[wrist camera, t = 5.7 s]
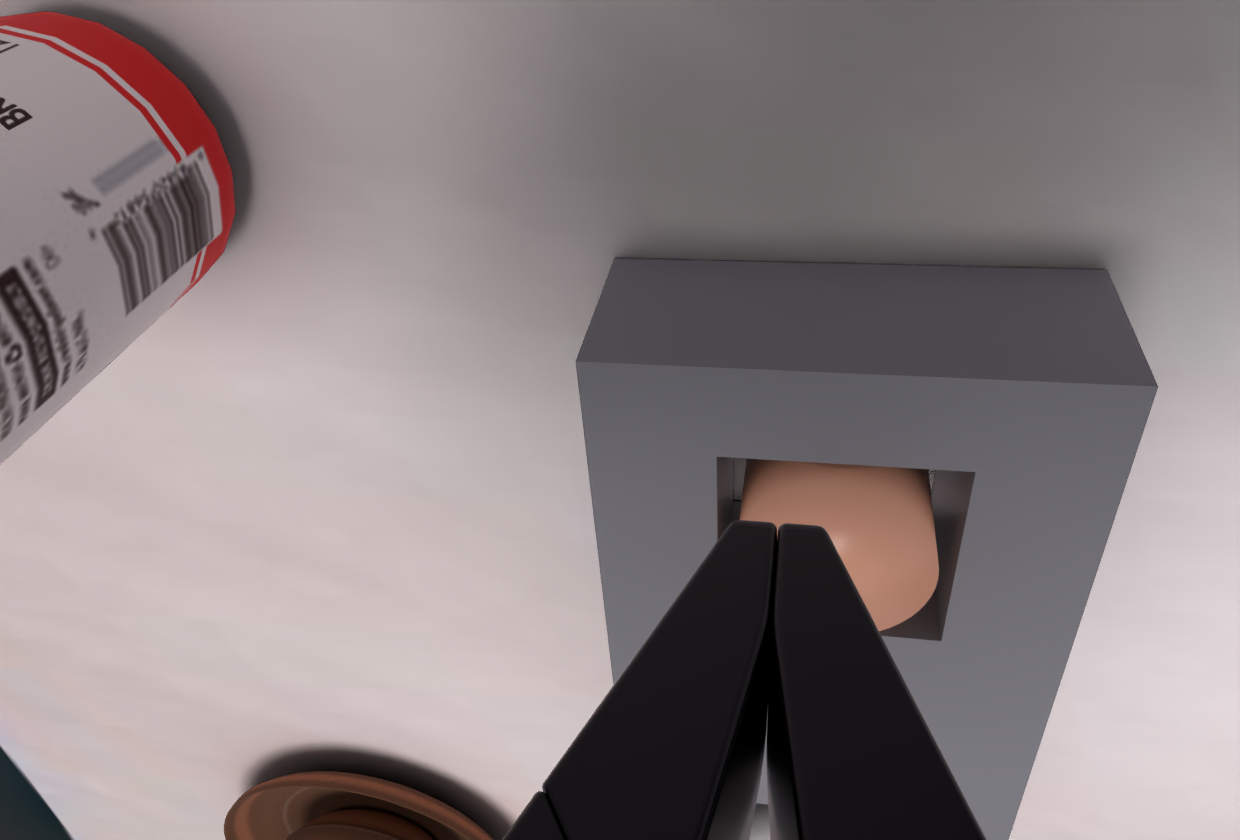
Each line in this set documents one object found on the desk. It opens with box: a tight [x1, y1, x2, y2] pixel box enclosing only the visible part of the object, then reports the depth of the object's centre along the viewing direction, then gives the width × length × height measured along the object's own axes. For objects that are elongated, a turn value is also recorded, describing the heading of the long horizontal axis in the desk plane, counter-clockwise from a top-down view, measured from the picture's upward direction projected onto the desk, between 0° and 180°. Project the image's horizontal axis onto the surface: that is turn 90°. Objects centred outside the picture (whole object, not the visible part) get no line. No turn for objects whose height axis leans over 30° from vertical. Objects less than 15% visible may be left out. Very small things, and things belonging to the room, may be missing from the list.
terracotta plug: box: [740, 459, 939, 631], centre depth 21 cm, size 4×4×4 cm
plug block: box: [576, 258, 1158, 840], centre depth 25 cm, size 10×21×4 cm, turn 4°
